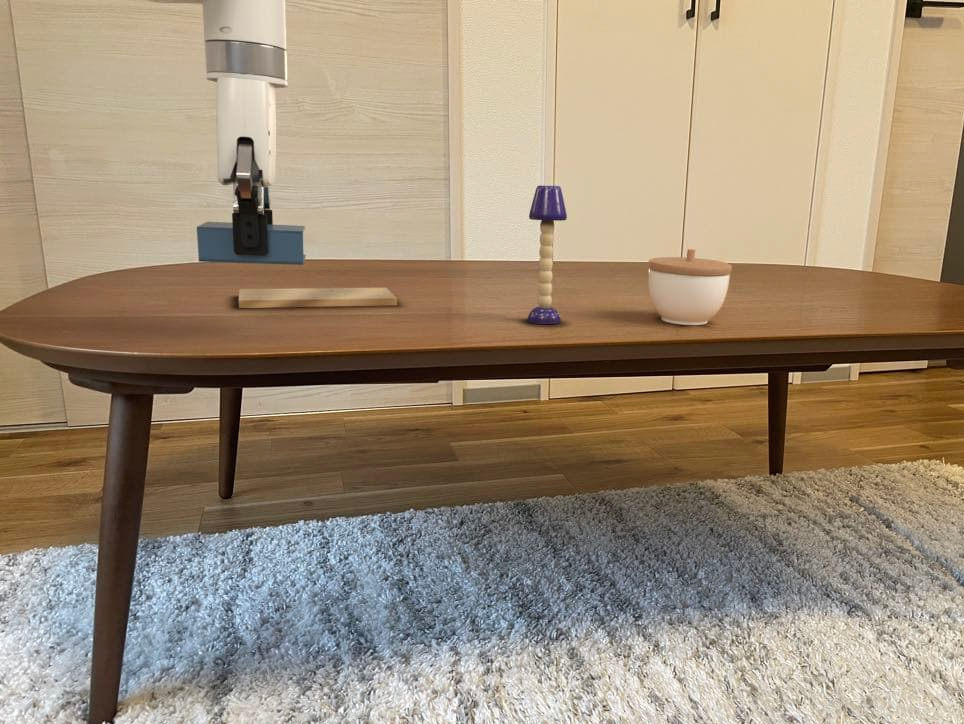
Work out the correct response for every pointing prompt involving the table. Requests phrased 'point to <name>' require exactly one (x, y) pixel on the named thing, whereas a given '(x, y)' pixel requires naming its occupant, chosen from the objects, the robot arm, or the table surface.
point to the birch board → (315, 297)
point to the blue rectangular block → (220, 248)
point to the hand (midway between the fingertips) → (254, 249)
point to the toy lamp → (546, 248)
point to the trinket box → (687, 288)
